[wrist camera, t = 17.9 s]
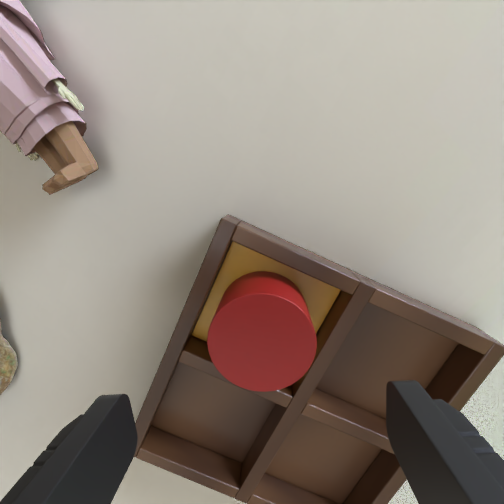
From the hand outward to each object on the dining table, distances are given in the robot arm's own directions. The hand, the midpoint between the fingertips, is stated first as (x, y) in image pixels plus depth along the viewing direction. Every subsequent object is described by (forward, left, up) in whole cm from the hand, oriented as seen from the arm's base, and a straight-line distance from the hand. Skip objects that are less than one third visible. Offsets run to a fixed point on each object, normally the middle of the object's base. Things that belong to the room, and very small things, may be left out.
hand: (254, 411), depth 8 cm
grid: (+4, -3, -7) cm, 9 cm away
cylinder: (0, 0, -7) cm, 7 cm away
